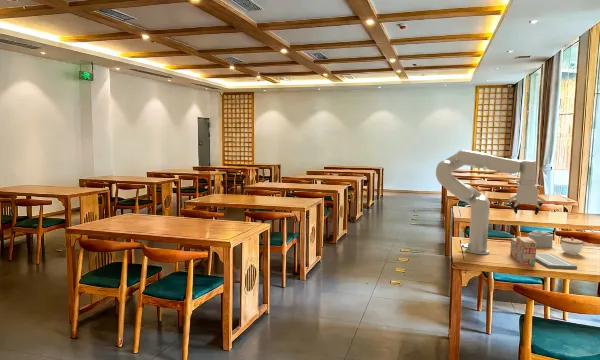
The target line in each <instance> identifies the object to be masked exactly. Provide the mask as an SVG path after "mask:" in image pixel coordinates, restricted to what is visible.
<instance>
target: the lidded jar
mask: <svg viewBox="0 0 600 360" xmlns="http://www.w3.org/2000/svg"><path fill="white" fill-rule="evenodd" d="M560 241H561V242H560V247H561V249H562V251H563V252H564V254H566V255H570V256H577V255H578V254H580V253H581V252H582V250H583V246H584V241H583V240H581V239H577V238H574V237H571V238H568V237H567V238H566V237H565V238H564V237H563V238H561V240H560Z"/></svg>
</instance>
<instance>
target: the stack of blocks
mask: <svg viewBox="0 0 600 360" xmlns="http://www.w3.org/2000/svg"><path fill="white" fill-rule="evenodd" d="M536 246H537V243H536V242H535V241H534V240H532V239H531V238H529V237H528V236H516V238H514V237H513V238H510V255H511V256H512V257H513V258H514V259H515V260H517V262H519V263H520V264H521V265H526V266H535V265H536V261H535V256H536V253H537V247H536Z"/></svg>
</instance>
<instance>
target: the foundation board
mask: <svg viewBox="0 0 600 360" xmlns="http://www.w3.org/2000/svg"><path fill="white" fill-rule="evenodd" d="M535 262H537V263H539V264H540V265H542V266H544V267H545V268H548V269H565V270H566V269H567V270H578V265H576V264H574V263H572V262H570V261H567V260H566V259H564V258H562V257H560V256H557V255H555V254H554V253H551V252H536V256H535Z"/></svg>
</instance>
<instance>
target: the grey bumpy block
mask: <svg viewBox="0 0 600 360" xmlns="http://www.w3.org/2000/svg"><path fill="white" fill-rule="evenodd" d="M527 237H529V238H531V239H532V240H534V241H535V242H536V243H537V246H536V248H553V241H554V240H553V238H554V235H553V234H551V233H549V232H547V231H545V230H544V231H543V230H542V231H540V230H536V229H535V230H532V231H531V232H528V236H527Z"/></svg>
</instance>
